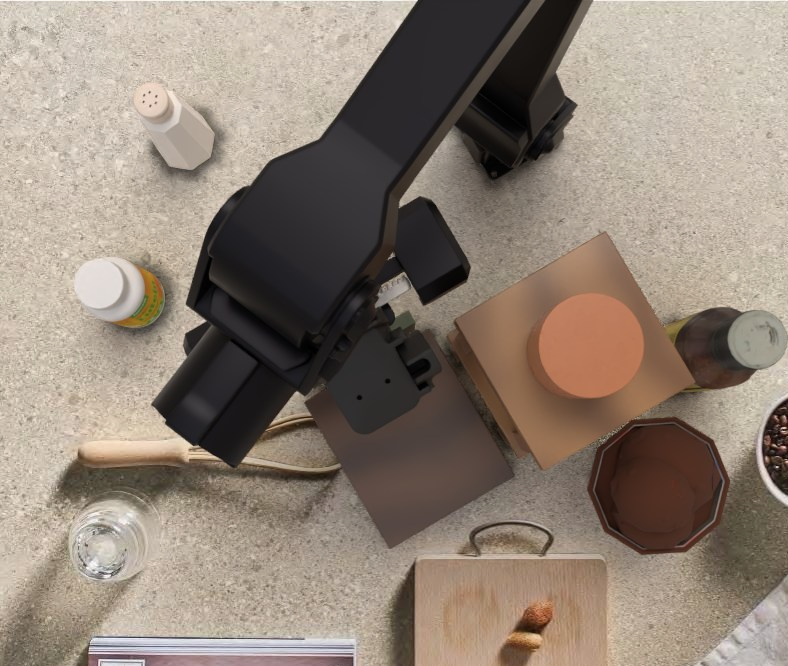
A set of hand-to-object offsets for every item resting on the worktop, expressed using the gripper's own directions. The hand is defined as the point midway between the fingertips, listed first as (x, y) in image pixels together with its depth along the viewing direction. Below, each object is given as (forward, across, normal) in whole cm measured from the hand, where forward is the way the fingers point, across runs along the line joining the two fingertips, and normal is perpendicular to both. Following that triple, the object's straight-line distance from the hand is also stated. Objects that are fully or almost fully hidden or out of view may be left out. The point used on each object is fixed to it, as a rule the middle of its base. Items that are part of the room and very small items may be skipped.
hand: (337, 320), depth 66 cm
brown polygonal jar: (+13, +15, -24) cm, 31 cm away
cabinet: (+13, 0, -10) cm, 17 cm away
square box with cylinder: (+13, +12, -10) cm, 21 cm away
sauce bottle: (+13, +24, -16) cm, 32 cm away
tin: (-11, +12, -10) cm, 19 cm away
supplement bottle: (+13, -15, +12) cm, 24 cm away
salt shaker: (+13, -4, +22) cm, 26 cm away
